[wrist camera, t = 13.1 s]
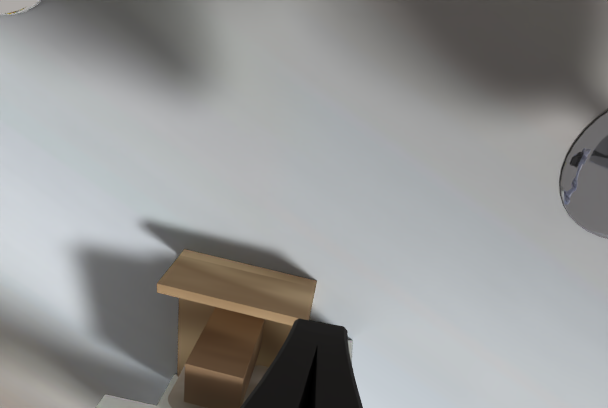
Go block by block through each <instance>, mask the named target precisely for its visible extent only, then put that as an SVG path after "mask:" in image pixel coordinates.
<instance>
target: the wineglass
mask: <svg viewBox="0 0 608 408" xmlns="http://www.w3.org/2000/svg"><path fill="white" fill-rule="evenodd" d="M41 1H42V0H0V15H15V14H19V13H23V12H26V11H28V10H30V9H31V8H33V7H35V6H36V5H38V4H39V3H40V2H41Z"/></svg>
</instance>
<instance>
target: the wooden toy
mask: <svg viewBox="0 0 608 408" xmlns="http://www.w3.org/2000/svg"><path fill="white" fill-rule="evenodd" d="M316 283H317V281H316V280H311V279H307V278H303V277H299V276H295V275H290V274H286V273H282V272H278V271H274V270H270V269H265V268H261V267H257V266H253V265H249V264H245V263H240V262H236V261H232V260H228V259H224V258H220V257H215V256H211V255H207V254H203V253H199V252H194V251H190V250H186V249H184V250H183V252H182V253H181V254H180V255H179V257H178V258H177V259H176V260H175V262H174V263H173V264H172V265H171V266H170V268H169V269H168V270H167V271H166V273H165V274H164V275H163V276H162V278H161V279H160V280H159V281H158V283H157V293H161V294H165V295H170V296H174V297H178V298H179V313H178V365H177V376H178V379H177V381H176V383H175V384H174V386H173V388H172V390H171V392H170V394H169V396H168V403H169V405H170V406H171V407H172V408H240V407H241V405H242V404H243V403H244V402H245V400H246V399H247V398H248V396H249V395H250V394H251V392H252V391H253V390H254V388H255V387H256V386H257V384H258V383H259V381H260V380H261V378H262V377H263V375H264V374H265V372H266V371H267V369H268V368H269V366H270V365H271V363H272V362H273V360H274V359H275V357H276V356H277V354H278V352H279V351H280V349H281V347H282V346H283V344H284V342H285V340H286V338H287V336H288V334H289V332H290V330H291V328H292V326H293V323H294V321H295V320H297V319H299V318H300V319H305V320H309V317H310V313H311V308H312V303H313V298H314V293H315V288H316Z"/></svg>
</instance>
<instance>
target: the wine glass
mask: <svg viewBox="0 0 608 408" xmlns="http://www.w3.org/2000/svg"><path fill="white" fill-rule="evenodd" d="M560 192H561V198H562V201H563V204H564V207H565V209H566V210H567V212H568V214H569V216H570V217H571V218H572V219H573V220H574V221H575V222H576V223H577V224H578V225H579V226H581V227H582V228H583V229H585V230H586V231H588V232H590V233H592V234H595V235H597V236H599V237H603V238H607V239H608V111H607V112H605V113H604V114H603V115H601V116H600V117H599V118H597V119H596V120H595V121H594V122H593V123H592V124H591V125H590V126H589V127H588V128H587V129H586V130H585V131H584V132H583V133H582V134H581V136H580V137H579V138H578V139H577V141H576V142H575V143H574V145H573V147H572V148H571V150H570V152H569V154H568V155H567V158H566V160H565V163H564V166H563V169H562V173H561V179H560Z"/></svg>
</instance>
